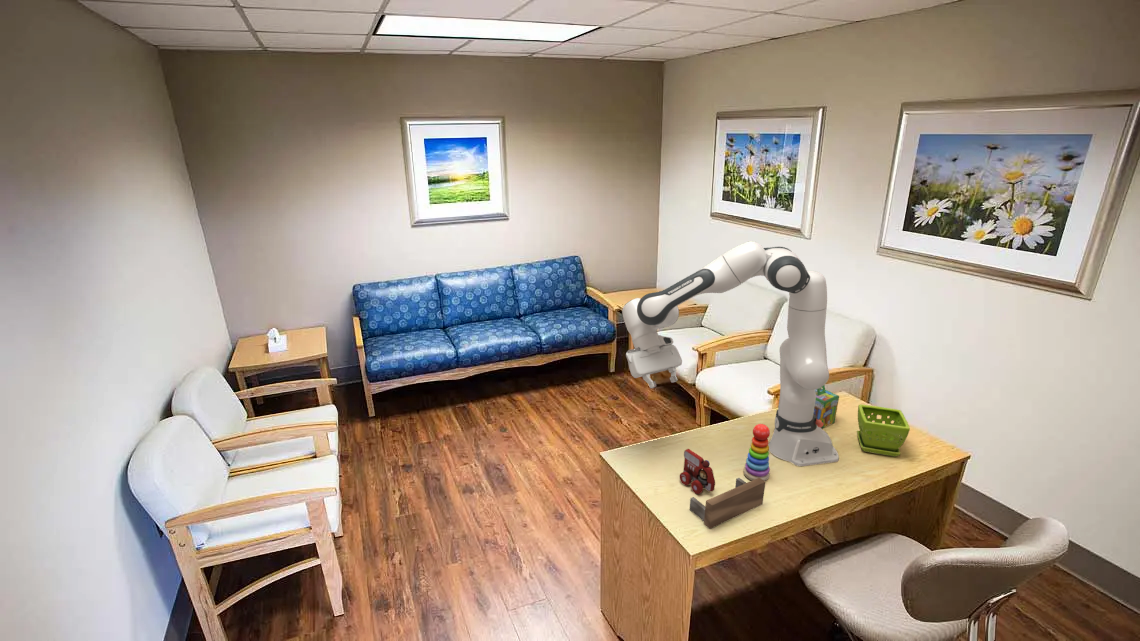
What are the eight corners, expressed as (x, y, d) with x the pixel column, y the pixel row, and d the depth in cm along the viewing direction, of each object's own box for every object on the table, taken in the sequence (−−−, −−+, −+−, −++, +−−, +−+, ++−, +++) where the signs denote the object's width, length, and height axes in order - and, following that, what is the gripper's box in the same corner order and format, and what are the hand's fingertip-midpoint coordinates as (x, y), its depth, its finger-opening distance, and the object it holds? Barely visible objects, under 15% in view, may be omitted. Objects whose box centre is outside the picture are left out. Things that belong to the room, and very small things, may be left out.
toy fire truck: (703, 500, 166) (706, 471, 163) (675, 479, 176) (677, 451, 172) (719, 492, 170) (722, 463, 166) (691, 472, 179) (693, 444, 176)
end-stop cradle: (687, 510, 162) (689, 487, 159) (739, 487, 172) (741, 465, 169) (709, 529, 154) (712, 505, 151) (762, 504, 164) (765, 481, 161)
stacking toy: (740, 468, 181) (746, 417, 175) (764, 468, 181) (771, 418, 175) (746, 482, 174) (753, 431, 167) (772, 483, 174) (779, 431, 167)
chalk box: (821, 429, 203) (827, 394, 198) (799, 419, 210) (804, 384, 205) (835, 422, 208) (842, 387, 203) (814, 412, 215) (819, 378, 210)
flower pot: (903, 461, 184) (911, 428, 179) (857, 454, 188) (863, 421, 184) (894, 440, 196) (901, 408, 192) (851, 433, 200) (857, 402, 196)
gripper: (629, 347, 174) (646, 387, 171) (675, 337, 186) (692, 375, 182) (619, 354, 179) (634, 394, 176) (664, 344, 191) (680, 381, 187)
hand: (664, 384), depth 179 cm, fingers open, 8 cm apart
